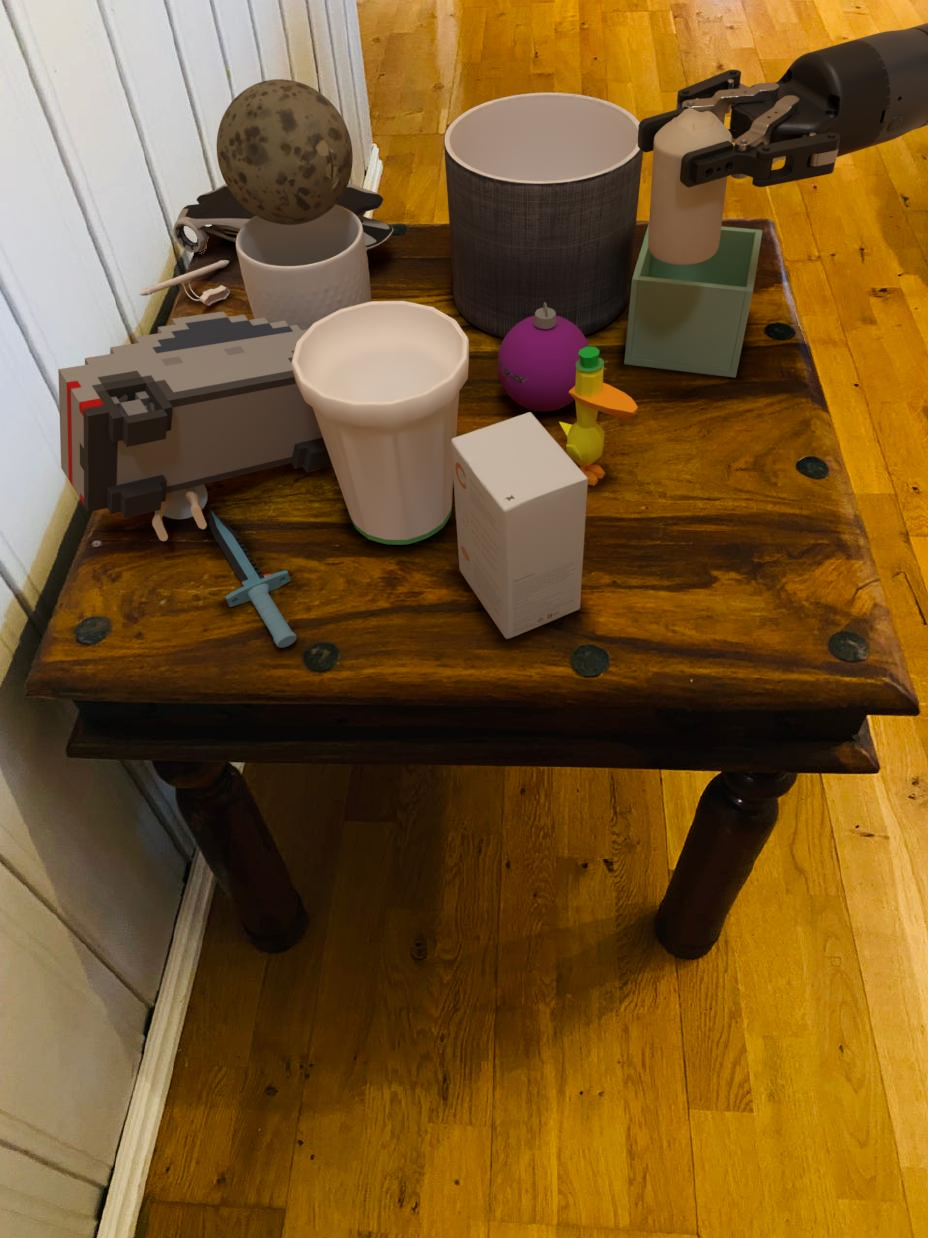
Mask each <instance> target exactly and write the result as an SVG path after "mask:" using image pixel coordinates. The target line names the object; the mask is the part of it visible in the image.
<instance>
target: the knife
mask: <svg viewBox="0 0 928 1238" xmlns="http://www.w3.org/2000/svg"><path fill="white" fill-rule="evenodd" d="M208 527H209V530H210V533H211V534H212V536H213V537H214V540H215V541H216V543H217V544H218V546H219V548H220V550H221V551H222V553H223V554H224V556H225V558H226V559H227V561H228V563H229V564H230V567H231V568H232V569H233V571H234V573H235V574H236V575H237V578H238V579H239V581H240V583H241V585H242V587H239V588H237V589H236V590H234V591H232V592H230V593H229V594H227V595H226V596H225V599H226V603H227V605H228V607H229V608H232V607H237V606H238V605H242V604H245V603H247V602H250V601H251V603H252V605H253V606H254V608H255V610H256V611H257V613H258V614H259V616H260V618H261V619H262V622H263V623H264V625H265V626H266V628H267V629H268V632H269V633H270V635H271V636H272V638H273V642H274V644H275V645H276V647H277V648H279V649H280V648H286V647H289V646H290V645H293V643H295V642H296V640H297V638H298V637H297V634H296V633H295V632H293V631H292V629H291V627H290V626H289V624H288V622H287V621H286V619H285V618H284V616H283V615H282V613H281V611H280V610H279V607H278V606H277V605H276V603H275V601H274V600H273V598H272V597H271V595H270V594H269V593H270V592H272V591H275V590H277V589H279V588H281V587H282V586H284V585H286V584H288V583H290V582H291V577H290V573H289V572H288V570H287V569H285V570H282V571H277V572H275V573H271V574H269V575H267V576H265V575H264V574H263V573H262V570H261V569H260V567H259V565H257V563H256V561H255V560H254V558H253V557H252V555H251V553H250V552H249V550H248V548H246V545H245V544H244V541H242V539H241V538H240V536H239V535H238V533H237V532H236V531H235V530H234V529H232V527H230V526H229V525H228V524H227V523H226V522H225V521H224V520H222V519H221V518H220V517H219V516H218V515H217V514H216V513H215V512H213V510H212V509H209V514H208Z"/></svg>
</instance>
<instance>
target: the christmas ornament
mask: <svg viewBox="0 0 928 1238" xmlns="http://www.w3.org/2000/svg"><path fill="white" fill-rule="evenodd" d="M585 347H590V344H589V341H588V340H587V338H586V335H583V333H582V332H581V331H580V329H579V328H578V327H577V326H576V325H574V324H573V323H572V322H570V321H569V320H567V319H565V318H562V317H560V316H556V312H555V311H554V310H553V309H551V308H547V304H546V302H544V304H543V308H540V309H538V310H537V311H536V312H535V316H531V317H529V318H526V319H524V320H522V321H521V322H519V323H518V324H516V325H515V326H514V327H513V328H512V329H511V330H510V331H509V332H508V334H507V335H506V336H505V338H503V340H502V342H501V344H500V346H499V350H498V352H497V353H498V354H497V362H496V365H497V375H498V378H499V381H500V384H501V386H502V388H503V390H504V391H505V392H506V394H507V395H508V396H509V397H510V399H511V400H513V401H514V402H515V403H516V404H518V405H519V406H521V407H523V408H525V409H528V410H530V411H534V412H542V413H543V412H554V411H557V410H560V409H562V408H565V407H567V406H568V405H570V404H571V403H573V402H574V401H575V398H573V397H572V396H571V395H570V394H569V391H570V390H571V389H572V388H573V387H574V386H575V384H576V369H577V368H576V362H577V361H578V360H579V359H580V358H579V351H580V349H583V348H585Z"/></svg>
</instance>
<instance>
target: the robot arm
mask: <svg viewBox="0 0 928 1238" xmlns="http://www.w3.org/2000/svg"><path fill="white" fill-rule="evenodd" d="M741 78H742V71H741V70H739V69H728V70H726V71H723V72H721V73H719V74H715V75H714V76H712V77H708V78H706V79H704V80H701V81H698V82H695V83H694V84H691V85H689V86H686V87H684V88H681V89H679V90H678V91H677V95H676V96H677V97H676V109H673V110H669V111H667V112H663V113H660V114H656V115H653V116H650V117H645V118H643V119H642V120H640V121H639V122H640V123H639V126H638V147H639V148H640V149H641V150H642V151H643V153H651V152H653V148H654V137H655V135H656V133H657V132H658V131H659V130H660V129H661V128H662V127H663V126H664V125H666V124H667V123H668V122H670V121H671V120H673V118H676V117H678V116H679V115H680V114H681V113H682V112H683V111H684V110H686V109H688V108H691V109H694V110H696V111H698V112H705V111H710V112H712V113H713V114H715V115H716V116H717V118H718V119H719V120H720V121H721V122H722V123H723V125H724V126H725V121H726V120H725V119H726V115H727V114H730V120H729V128H727V129H728V130H729V132H730V133H731V135H732V142H729V141H725V142H721V143H718V144H715V145H711V146H708V147H705V148H701V149H698V150H695V151H691V152H688V153H686V154H685V155H684V156H683V158H682V160H681V171H680V182H681V183H683V184H684V185H685V186H686V187H693V186H696V185H699V184H704V183H707V182H710V181H714V180H717V179H720V178H724V177H727V178H728V177H729V176H731V177H732V178H733V179H737V180H743V179H746V178H747V177H750V178H752V180H751V181H752V182H751V184H752V185H753V187H757V188H766V187H772V186H776V185H781V184H787V183H792V182H797V181H801V180H802V181H803V180H806V179H811V178H817V177H822V176H827V175H830V174H831V175H832V173H834V170H835V165H836V162H837V158H839V157H843V156H846V155H849V154H852V153H856V152H858V151H861V150H864V149H868V148H871V147H875V146H879V145H882V144H884V143H888V142H890V141H893V140H895V139H897V138H901V137H902V136H904V135H906V134H909V133H910V132H912V131H914V130H918V129H921V128H924V127H927V126H928V22H925V23H923V24H919V25H915V26H913V27H909V28H905V29H898V30H897V29H895V30H888V31H882V32H877V33H873V34H870V35H867V36H863V37H860V38H856V39H852V40H848V41H846V42H842V43H838V44H834V45H831V46H828V47H823V48H820V49H817V50H814V51H809V52H807V53H804V54H802V55H800V56H799V57H797V58H796V59H795V60H794V61H793V62H792V63H791V64H790V66H789V67H788V69H787V70H786V71H785V73H784V74H783V75H782V76H781V77H780V79H779V80H778V81H776V82H775V81H773V82H760V83H755V84H752V85H751V86H747V85H746V84H743V83H741ZM780 160H782V161H783V160H784V165H783V166H782V167H779V168H776V169H773V165H774V164H775V163H776V162H778V161H780Z"/></svg>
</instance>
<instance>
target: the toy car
mask: <svg viewBox="0 0 928 1238" xmlns="http://www.w3.org/2000/svg"><path fill="white" fill-rule="evenodd" d="M307 330H308V329H306V330H301V329H300V328H299V327H298V326H297V325H293V326H289V325H288V324H287V323H286V322H285V321H279V322H273V323H268V321H267V320H266V319H265V318H259V319H254V318H253V319H248V318H247V316H246V315H245V314H239V315H232V316H228V315H227V314H226V313H225V312H224V311H217V312H210V313H203V314H202V313H201V314H196V315H189V316H182V317H175V318H171V324H168V325H161V326H158V327H157V333H153V334H146V335H145V334H144V335H139V336H134V343H129V344H122V345H116V346H112V347H111V346H110V347H109V353H108V354H103V355H102V354H101V355H96V356H90V357H84V364H82V365H77V366H76V365H75V366H70V367H69V366H68V367H64V368H58V369H57V370H58V372H57V373H58V401H59V403H58V404H59V406H58V408H59V409H58V410H59V435H60V436H59V439H60V440H59V441H60V444H59V445H60V468H61V470H62V471H63V473H64V475H65V476H66V478H67V481H68V482H69V484H70V485H71V487H72V489H73V490H74V492H75V493H76V495H77V497H78V499H79V500H80V501H81V503H82V505H83V507H84V508H85V510H86V511H87V513H92V512H96V511H101V510H104V509H107V511H108V512H109V514H110V515H114V514H119V513H120V514H121V516H122V517H123V519H124V520H125V519H129V518H133V517H137V516H141V515H144V514H149V513H152V512H155V511H157V510H161V502H163V501H165V500H166V493H170V492H174V491H179V490H183V489H187V488H191V487H195V486H199V485H203V484H204V485H206V484H212V483H214V482H219V481H223V480H228V479H232V478H235V477H236V478H237V477H240V476H245V475H248V474H252V473H257V472H260V471H264V470H268V469H273V468H277V467H280V466H285V465H289V464H290V465H292V466H293V468H294V469H300V468H303V469H304V471H305V472H306V473H312V472H315V471H319V470H322V469H323V470H324V469H328V468H331V467H333V465H332V462H331V459H330V456H329V453H328V451H327V448H326V445H325V442H324V439H323V436H322V433H321V430H320V427H319V425H318V422H317V419H316V416H315V413H314V410H313V407H312V406H310V405H309V404H308V403H306V402H305V400H304V398H303V396H302V394H301V392H300V390H299V388H298V386H297V383H296V381H295V377H294V373H293V369H292V365H291V363H292V359H293V355H294V351H295V347H296V343H297V341H298V340H299V339H300V338H301V337H302V336H303V335H304V334H305V333H306V331H307Z"/></svg>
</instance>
